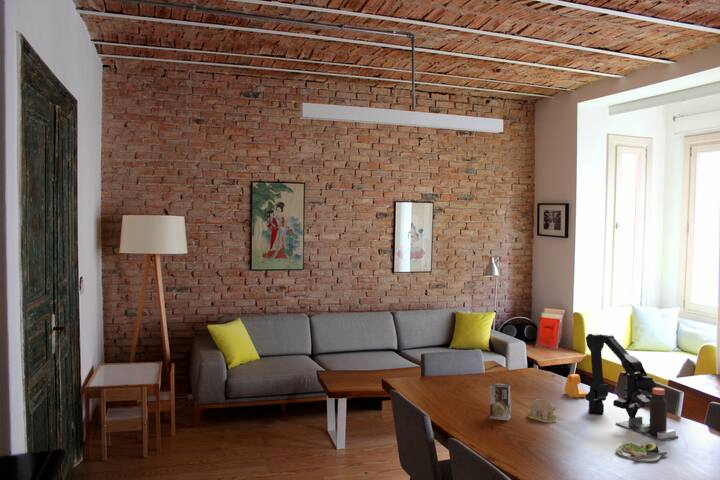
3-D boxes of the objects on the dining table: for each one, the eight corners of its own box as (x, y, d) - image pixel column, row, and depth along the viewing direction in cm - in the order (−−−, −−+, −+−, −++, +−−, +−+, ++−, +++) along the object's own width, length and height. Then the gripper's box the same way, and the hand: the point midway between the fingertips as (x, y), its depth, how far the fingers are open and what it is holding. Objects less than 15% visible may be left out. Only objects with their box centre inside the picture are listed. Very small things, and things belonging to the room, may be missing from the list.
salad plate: (656, 469, 233) (656, 457, 233) (608, 457, 245) (608, 446, 245) (669, 455, 247) (669, 444, 247) (624, 445, 259) (624, 434, 259)
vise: (615, 424, 285) (615, 417, 285) (632, 421, 290) (633, 415, 290) (660, 441, 263) (660, 433, 263) (678, 437, 267) (678, 430, 267)
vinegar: (669, 434, 270) (670, 389, 270) (661, 437, 266) (661, 391, 266) (654, 430, 275) (655, 386, 275) (646, 432, 272) (647, 388, 271)
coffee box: (511, 417, 295) (511, 384, 295) (508, 421, 289) (508, 387, 289) (492, 414, 299) (492, 382, 299) (489, 418, 293) (489, 385, 293)
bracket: (587, 398, 331) (587, 376, 330) (575, 398, 329) (575, 376, 329) (575, 393, 341) (576, 371, 341) (564, 393, 340) (564, 372, 339)
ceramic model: (559, 418, 295) (560, 397, 295) (553, 424, 285) (554, 403, 285) (530, 413, 302) (531, 393, 302) (524, 419, 293) (524, 398, 293)
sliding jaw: (627, 425, 281) (627, 418, 281) (641, 423, 284) (641, 416, 284) (644, 432, 272) (644, 424, 272) (658, 429, 276) (658, 422, 276)
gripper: (632, 393, 272) (631, 428, 272) (661, 389, 280) (661, 423, 280) (612, 387, 282) (612, 420, 283) (641, 383, 290) (641, 416, 290)
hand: (632, 420), depth 284 cm, fingers closed
